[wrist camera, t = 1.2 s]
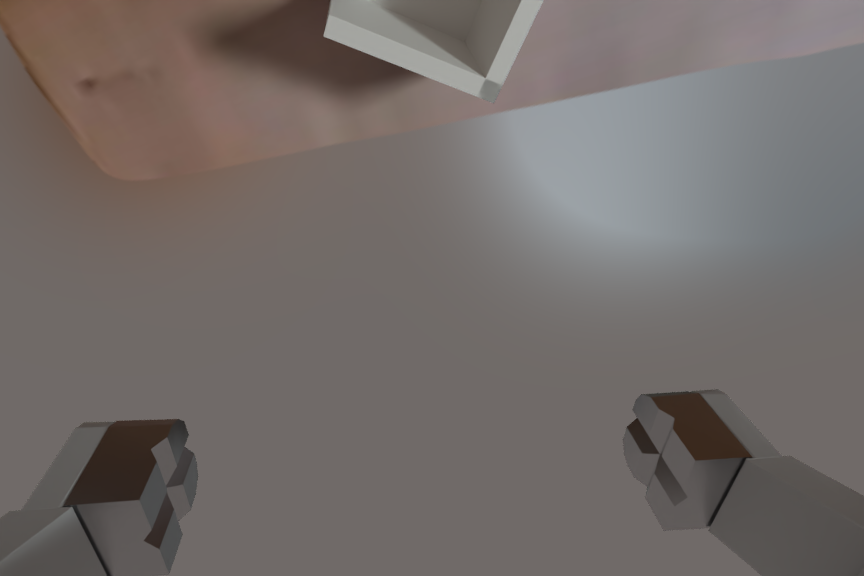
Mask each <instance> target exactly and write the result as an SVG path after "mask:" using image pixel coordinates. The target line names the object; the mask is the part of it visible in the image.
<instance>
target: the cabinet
mask: <svg viewBox="0 0 864 576" xmlns="http://www.w3.org/2000/svg"><path fill="white" fill-rule="evenodd" d="M543 1H544V0H330V4H329V9H328V14H327V20H326V25H325V30H324V37H326V38H329V39H331V40H334V41H336V42H339V43H341V44H344V45H346V46H349V47H352V48H354V49H357V50H359V51H362V52H364V53H367V54H369V55H372V56H375V57H377V58H380V59H382V60H385V61H387V62H390V63H392V64H395V65H397V66H400V67H403V68H405V69H408V70H410V71H413V72H415V73H418V74H420V75H423V76H425V77H428V78H431V79H433V80H436V81H438V82H441V83H443V84H446V85H448V86H451V87H454V88H456V89H459V90H461V91H464V92H466V93H469V94H471V95H474V96H476V97H479V98H482V99H484V100H487V101H489V102H492V103H494V102H495V100H496V98H497V96H498V94H499V92H500V90H501V88H502V86H503V83H504V81H505V79H506V77H507V75H508V73H509V71H510V69H511V67H512V65H513V63H514V61H515V59H516V57H517V54H518V52H519V50H520V48H521V46H522V44H523V42H524V40H525V38H526V36H527V34H528V32H529V30H530V28H531V25H532V23H533V21H534V19H535V17H536V15H537V13H538V11H539V9H540V7H541V5H542V3H543Z"/></svg>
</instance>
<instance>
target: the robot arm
mask: <svg viewBox="0 0 864 576" xmlns="http://www.w3.org/2000/svg"><path fill="white" fill-rule="evenodd" d="M633 411H634V413H635V415H636V417H637V418H636V419H635V420H634V421H633V422H632V423H631V424H630V425H628V426H627V428H626V432H625V435H624V438H623V444H624V445H623V446H624V456H625V459H626V462H627V465H628V467H629V469H630V471H631V473H632V474H633V476H634V478H636V479H637V480H639V481H640V482H641V483H643V484H645V485H646V486H647V492H646V496H645V498H646V500H647V502H648V504H649V505H650V507H651V509H652V511H653V513H654V514H655V516H656V518H657V520H658V522H659V523H660V525H661V527H662V529H663V530H664V531H666V530H684V529H701V528H709V531H710V532H711V533H712V534H713V535H714V536H715V537H717V538H718V539H719V540H720V541H721V542H723V543H724V544H725V545H726V546H727V547H728V548H730V549H731V550H732V551H733V552H734V553H736V554H737V555H738V556H739V557H740V558H742V559H743V560H744V561H745V562H746V563H747V564H749V565H750V566H751V567H752V568H753V569H754V570H756V571H757V572H758V573H759V574H760V575H762V576H864V496H863V495H861V494H859V493H858V492H856V491H854V490H852V489H850V488H848V487H846V486H844V485H843V484H841V483H839V482H837V481H836V480H834V479H832V478H830V477H828V476H826V475H825V474H823V473H821V472H819V471H817V470H815V469H814V468H812V467H810V466H808V465H806V464H804V463H802V462H800V461H799V460H797V459H795V458H793V457H792V456H782V455H781V454H780V453H779V452H778V451H777V450H776V449H775V448H774V446H773V445H772V444H771V443H770V442H769V441H768V440H767V439H766V438H765V437H764V435H763V434H762V433H761V432H760V431H759V430H758V429H757V428H756V426H755V425H754V424H753V423H752V422H751V421H750V420H749V419H748V418H747V416H746V415H745V414H744V413H743V412H742V411H741V410H740V409H739V408H738V407H737V405H736V404H735V403H734V402H733V401H732V400H731V399H730V398H729V396H728V395H727V394H725V393H724V392H722V391H720V390H718V389H716V390H700V391H691V392H688V391H686V392H670V393H655V394H641V395H640V396H639V397H638V398H637V399H636V401H635V404H634V407H633ZM188 435H189V434H188V431H187V428H186V425H185V422H184V421H182V420H180V419H167V420H132V421H116V422H86V423H83V424H81V425H80V426H79V427H77V428H75V429H74V431H73V432H72V434H71V435H70V437H69V438H68V440H67V441H66V443H65V444H64V446H63V447H62V449H61V450H60V452H59V453H58V455H57V456H56V458H55V459H54V461H53V462H52V464H51V465H50V467H49V468H48V470H47V471H46V473H45V474H44V476H43V477H42V479H41V480H40V482H39V483H38V485H37V487H36V488H35V489H34V491H33V492H32V494H31V495H30V497H29V499H28V500H27V502H26V503H25V505H24V506H23V508H22V509H21V510H18V511H9V512H8V513H7V514H5V515H4V516H2V517H1V518H0V576H158V575H167V574H169V573H170V570H171V567H172V564H173V562H174V559H175V556H176V552H177V550H178V546H179V544H180V540H181V537H182V531H181V529H180V525H179V522H178V521H179V520H180V519H181V518H182V517H183V516H184V515H186V514H187V513H188V512H189V511H190V510H191V508H192V504H193V501H194V498H195V495H196V487H197V480H198V471H197V462H196V458H195V455H194V453H193V452H191V451H190V450H188V449H187V448H186V447H185V443H186V441H187V438H188Z"/></svg>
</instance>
